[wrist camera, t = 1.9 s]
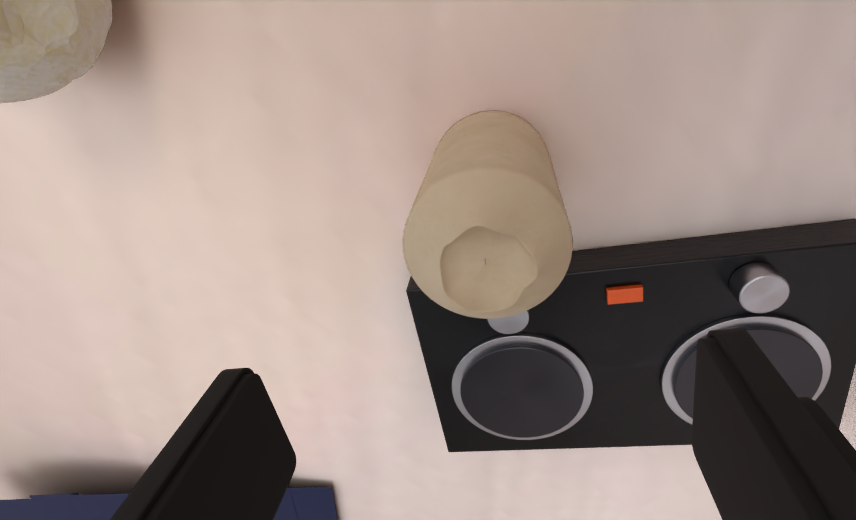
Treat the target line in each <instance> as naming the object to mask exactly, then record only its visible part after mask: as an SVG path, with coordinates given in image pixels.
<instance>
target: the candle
mask: <svg viewBox="0 0 856 520" xmlns="http://www.w3.org/2000/svg"><path fill="white" fill-rule="evenodd" d="M572 250H573V239H572V233H571V227H570V224H569V221H568V217H567V214H566V210H565V207H564V204H563V200H562V197H561V193H560V190H559V187H558V183H557V180H556V177H555V173H554V170H553V166H552V163H551V160H550V156H549V153H548V150H547V148H546V145H545V143H544V141H543V139H542V138H541V136H540V135H539V133H538V132H537V131H536V130H535V129H534V128H533V127H532V126H531V125H530V124H529V123H527V122H526V121H524V120H523V119H521V118H519V117H517V116H515V115H513V114H509V113H506V112H500V111H485V112H479V113H475V114H472V115H470V116H467V117H466V118H464V119H462V120H460V121H459V122H457V123H456V124H455V125H453V126H452V127H451V128H450V129H449V130H448V131H447V132H446V134H445V135H444V136H443V137H442V139H441V141H440V142H439V144H438V146H437V148H436V151H435V153H434V155H433V158H432V160H431V163H430V165H429V167H428V170H427V172H426V175H425V177H424V180H423V182H422V184H421V187H420V189H419V192H418V194H417V197H416V199H415V201H414V204H413V206H412V209H411V211H410V213H409V216H408V218H407V221H406V224H405V228H404V234H403V252H404V258H405V262H406V265H407V268H408V270H409V272H410V274H411V276H412V278H413V279H414V281H415V282H416V284H417V285H418V286H419V288H420V289H421V290H422V291H423V292H424V293H425V294H426V295H427V296H428V297H429V298H430V299H432V300H433V301H434V302H436V303H437V304H439V305H440V306H442V307H444V308H446V309H448V310H450V311H452V312H455V313H457V314H461V315H464V316H468V317H474V318H484V319H493V318H503V317H509V316H513V315H516V314H519V313H522V312H525V311H527V310H529V309H531V308H533V307H535V306H536V305H538V304H539V303H541V302H542V301H544V300H545V299H546V298H547V297H548V296H550V295H551V294H552V293H553V292H554V290H555V289H556V288H557V287H558V286H559V284H560V283H561V281H562V280H563V278H564V276H565V274H566V272H567V270H568V267H569V264H570V261H571V256H572Z"/></svg>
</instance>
